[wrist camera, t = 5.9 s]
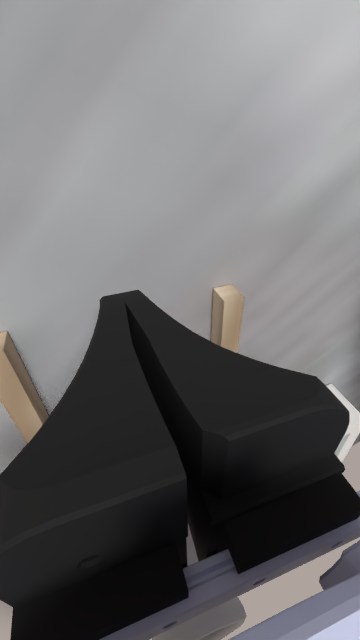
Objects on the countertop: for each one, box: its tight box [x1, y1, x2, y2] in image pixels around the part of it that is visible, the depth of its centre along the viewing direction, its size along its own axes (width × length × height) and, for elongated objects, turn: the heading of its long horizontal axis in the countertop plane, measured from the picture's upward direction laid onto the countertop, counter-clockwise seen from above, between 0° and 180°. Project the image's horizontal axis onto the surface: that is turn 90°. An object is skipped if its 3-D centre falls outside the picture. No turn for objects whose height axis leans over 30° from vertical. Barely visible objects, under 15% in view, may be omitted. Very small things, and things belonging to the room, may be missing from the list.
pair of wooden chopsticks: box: [0, 284, 244, 444], centre depth 19 cm, size 11×23×1 cm, turn 2°
